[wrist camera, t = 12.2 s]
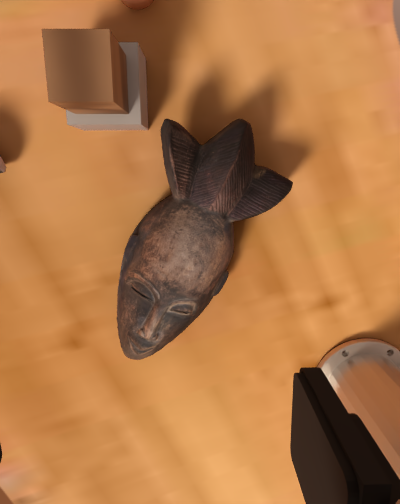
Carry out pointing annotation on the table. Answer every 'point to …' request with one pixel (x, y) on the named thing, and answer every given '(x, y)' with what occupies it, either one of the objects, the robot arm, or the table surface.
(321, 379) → the robot arm
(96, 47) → the brown metal block
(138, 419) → the table surface
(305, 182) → the table surface
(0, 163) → the headphones
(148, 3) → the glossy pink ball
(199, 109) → the table surface
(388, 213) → the table surface
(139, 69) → the grey block
